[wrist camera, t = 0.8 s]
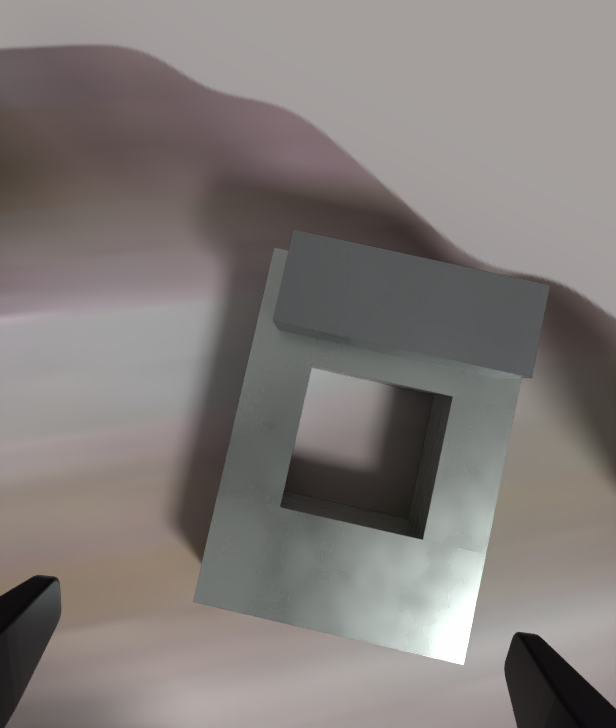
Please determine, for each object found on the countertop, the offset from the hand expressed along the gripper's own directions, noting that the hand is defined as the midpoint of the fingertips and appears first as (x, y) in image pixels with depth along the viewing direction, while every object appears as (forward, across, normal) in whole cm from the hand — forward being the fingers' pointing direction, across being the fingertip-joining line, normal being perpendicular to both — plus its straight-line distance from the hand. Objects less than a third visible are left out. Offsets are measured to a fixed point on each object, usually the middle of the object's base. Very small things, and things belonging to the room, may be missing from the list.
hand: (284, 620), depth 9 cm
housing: (+14, -3, +3) cm, 14 cm away
